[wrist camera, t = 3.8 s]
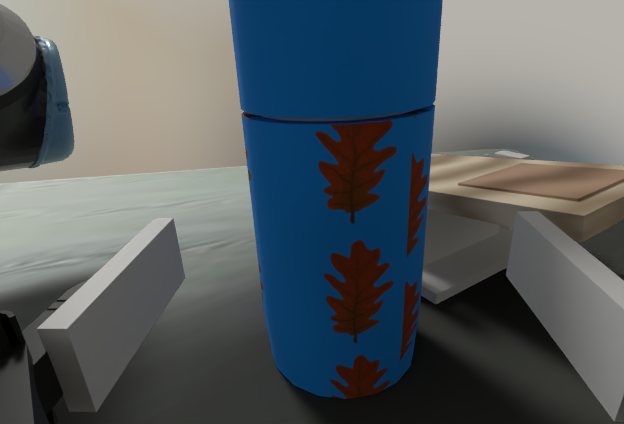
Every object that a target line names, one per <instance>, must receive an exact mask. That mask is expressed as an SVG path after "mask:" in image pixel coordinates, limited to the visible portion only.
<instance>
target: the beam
mask: <svg viewBox="0 0 624 424" xmlns="http://www.w3.org/2000/svg"><path fill="white" fill-rule="evenodd" d="M427 209H428V210H433V211H438V212H443V213H447V214H452V215H457V216H461V217H466V218H471V219H475V220H480V221H485V222H489V223H494V224H499V225H503V226H508V227H513V228H514V224H515V218H516V212H517V211H539V212H540V213H541V214H542V215H543V216H545V217H546V218H547V219H548V220H550V221H551V222H552V223H553V224H554V225H556V226H557V227H558V228H559V229H561V230H562V231H563V232H564V233H566V234H567V235H568V236H569V237H570V238H572V239H573V240H574V241H578V242H583V241H585V240H587V239H589V238H591V237H592V236H594V235H596V234H598V233H600V232H602V231H603V230H605V229H607V228H609V227H611V226H612V225H614V224H616V223H618V222H620V221H622V220H623V219H624V166H622V165H605V164H589V163H573V162H555V161H540V160H524V159H507V158H491V157H474V156H458V155H441V154H431V165H430V178H429V192H428V206H427Z"/></svg>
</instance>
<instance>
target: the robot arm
mask: <svg viewBox="0 0 624 424" xmlns="http://www.w3.org/2000/svg"><path fill="white" fill-rule="evenodd" d="M68 104H69V102H68V96H67V89H66V83H65V78H64V73H63V69H62V64H61V60H60V56H59V52H58V49H57V46H56V45H55V43H54V42H53V41H51V40H49V39H44V38H40V37H38V36H33V35H32V34H31V32H30V30H29V28H28V27H27V25H26V24H25V22H24V21H23V20H22V19H21V18H20V17H19V16H18V15H16V14H15V13H14V12H12V11H11V10H9V9H8V8H6V7H5V6H3V5H1V4H0V171H6V170H12V169H20V168H35V167H38V166H39V165H42V164H46V163H52V162H57V161H62V160H64V159H66V158H68V157H69V156H70V155H71V154H72V152H73V149H74V134H73V126H72V119H71V113H70V108H69V106H68ZM506 276H507V277H508V279H509V280H510V282H511V283H512V284H513V286H514V287H515V288H516V290H517V291H518V292H519V294H520V295H521V296H522V298H523V299H524V300H525V302H526V303H527V304H528V306H529V307H530V309H531V310H532V311H533V313H534V314H535V315H536V317H537V318H538V319H539V321H540V322H541V323H542V325H543V326H544V327H545V329H546V330H547V331H548V333H549V334H550V336H551V337H552V338H553V340H554V341H555V342H556V344H557V345H558V346H559V348H560V349H561V350H562V352H563V353H564V354H565V356H566V357H567V358H568V360H569V361H570V362H571V364H572V365H573V367H574V368H575V369H576V371H577V372H578V373H579V375H580V376H581V377H582V379H583V380H584V381H585V383H586V384H587V385H588V387H589V388H590V389H591V391H592V392H593V394H594V395H595V396H596V398H597V399H598V400H599V402H600V403H601V404H602V406H603V407H604V408H605V410H606V411H607V412H608V414H609V415H610V416H611V418H612V419H613V421H614V422H624V276H617V275H616V274H615V273H613V272H612V271H611V270H610V269H609V268H607V267H606V266H605V265H604V264H602V263H601V262H600V261H599V260H597V259H596V258H595V257H594V256H593V255H591V254H590V253H589V252H588V251H586V250H585V249H584V248H583V247H582V246H580V245H579V244H578V243H577V242H575V241H574V240H573V239H572V238H570V237H569V236H568V235H567V234H566V233H564V232H563V231H562V230H561V229H559V228H558V227H557V226H556V225H554V224H553V223H552V222H551V221H550V220H548V219H547V218H546V217H545V216H543V215H542V214H541V213H540V212H539V211H517V212H516V218H515V224H514V230H513V236H512V242H511V248H510V254H509V260H508V266H507V272H506ZM184 279H185V274H184V269H183V264H182V259H181V254H180V249H179V244H178V239H177V234H176V229H175V224H174V219H173V218H154V219H153V220H152V221H151V222H150V223H149V224H148V225H147V226H146V227H145V228H144V229H143V230H142V231H140V232H139V233H138V234H137V235H136V236H135V237H134V238H133V239H132V240H131V241H130V242H129V243H128V244H127V245H126V246H124V247H123V248H122V249H121V250H120V251H119V252H118V253H117V254H116V255H115V256H114V257H113V258H112V259H111V260H109V261H108V262H107V263H106V264H105V265H104V266H103V267H102V268H101V269H100V270H99V271H98V272H97V273H96V274H95V275H93V276H92V277H91V278H90V279H89V280H88V281H83V282H81V283H79V284H77V285H76V286H74V287H72V288H70V289H69V290H67V291H66V292H65V293H64V294H63V295H62V296H61V297H60V298H58V299H57V302H54V303H53V304H52V305H51V306H50V307H48V308H47V311H44V312H43V313H42V314H41V315H40V316H38V317H37V318H36V319H35V320H34V321H33V322H32V323H31V324H30V325H29V326H27V327H26V328H25V329H24V330H23V331H21V329H20V327H19V324H18V322H17V319H16V317H15V315H14V313H13V312H12V311H8V310H0V424H58V422H57V417H56V414H55V412H54V409H53V407H54V406H55V404H56V403H57V402H58V400H59V399H60V398H61V397H62V395H63V398H64V400H65V403H66V405H67V408H68V410H69V412H97V411H98V409H99V408H100V406H101V404H102V403H103V401H104V400H105V398H106V397H107V395H108V394H109V392H110V391H111V389H112V388H113V386H114V385H115V383H116V382H117V380H118V379H119V377H120V376H121V374H122V373H123V371H124V370H125V368H126V367H127V365H128V364H129V362H130V361H131V359H132V358H133V356H134V354H135V353H136V351H137V350H138V348H139V347H140V345H141V344H142V342H143V341H144V339H145V338H146V336H147V335H148V333H149V332H150V330H151V329H152V327H153V326H154V324H155V323H156V321H157V320H158V318H159V317H160V315H161V314H162V312H163V311H164V309H165V308H166V306H167V304H168V303H169V301H170V300H171V298H172V297H173V295H174V294H175V292H176V291H177V289H178V288H179V286H180V285H181V283H182V282H183V280H184Z"/></svg>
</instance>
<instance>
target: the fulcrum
mask: <svg viewBox="0 0 624 424" xmlns="http://www.w3.org/2000/svg"><path fill="white" fill-rule="evenodd" d="M494 158H507V159H524V160H530V156H529V155H524V154H519V153H514V152H508V151H500V152H496V153H494ZM513 230H514V228H513V227H508V226H503V225H499V224H494V223H489V222H485V221H480V220H475V219H471V218H466V217H461V216H457V215H452V214H447V213H443V212H438V211H433V210H428V209H427V220H426V233H425V247H424V261H423V275H422V288H421V296H423V297H424V298H426V299H428V300H429V301H431V302H433V303H434V304H438V303H440V302H441V301H443V300H445V299H447V298H449V297H451V296H453V295H455V294H457V293H459V292H461V291H463V290H465V289H467V288H469V287H470V286H472V285H474V284H476V283H478V282H480V281H482V280H484V279H486V278H488V277H490V276H492V275H494V274H496V273H497V272H499V271H501V270H503V269H505V268H507V266H508V260H509V254H510V248H511V242H512V236H513Z"/></svg>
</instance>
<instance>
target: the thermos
mask: <svg viewBox="0 0 624 424" xmlns="http://www.w3.org/2000/svg"><path fill="white" fill-rule="evenodd" d="M229 7H230V16H231V24H232V34H233V43H234V51H235V60H236V69H237V77H238V86H239V95H240V104H241V109H242V110H243V111H244V112H243V113H242V122H243V130H244V140H245V148H246V156H247V166H248V175H249V184H250V192H251V201H252V210H253V219H254V228H255V236H256V245H257V254H258V263H259V272H260V281H261V289H262V298H263V307H264V313H265V319H266V324H267V329H268V335H269V340H270V346H271V351H272V354H273V357H274V360H275V363H276V366H277V368H278V370H279V371H280V372H281V373H282V374H283V375H284V376H285V377H286V378H287V379H288V380H289V381H290V382H291V383H292V384H293V385H295V386H297V387H299V388H301V389H304V390H306V391H308V392H310V393H313V394H315V395H317V396H323V397H332V398H340V399H351V398H357V397H363V396H369V395H375V394H377V393H378V392H380V391H382V390H384V389H386V388H388V387H390V386H392V385H393V384H395V383H397V382H398V381H399V380H400V378H401V377H402V376H403V375H404V373H405V372H406V371H407V370H408V369H409V367H410V366H411V361H412V356H413V351H414V345H415V338H416V331H417V324H418V317H419V310H420V302H421V288H422V275H423V261H424V247H425V233H426V220H427V206H428V192H429V178H430V165H431V150H432V137H433V123H434V110H435V105H433V103H434V101H435V96H436V82H437V67H438V54H439V41H440V26H441V14H442V0H229Z"/></svg>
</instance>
